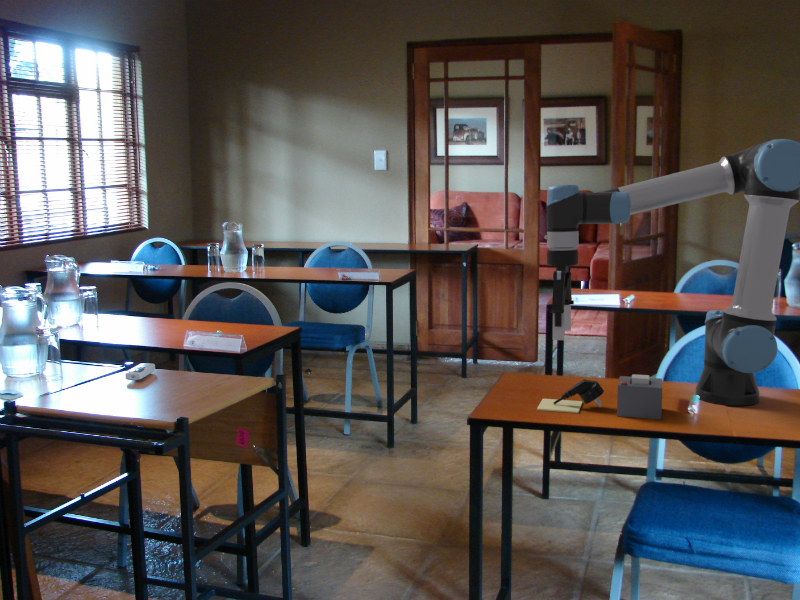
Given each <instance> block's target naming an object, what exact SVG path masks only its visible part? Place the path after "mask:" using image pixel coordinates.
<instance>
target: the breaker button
mask: <svg viewBox="0 0 800 600" xmlns="http://www.w3.org/2000/svg"><path fill="white" fill-rule="evenodd" d="M631 377H632V383H631V384H646V385H649V378H650V375H648V374H632V375H631Z"/></svg>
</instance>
